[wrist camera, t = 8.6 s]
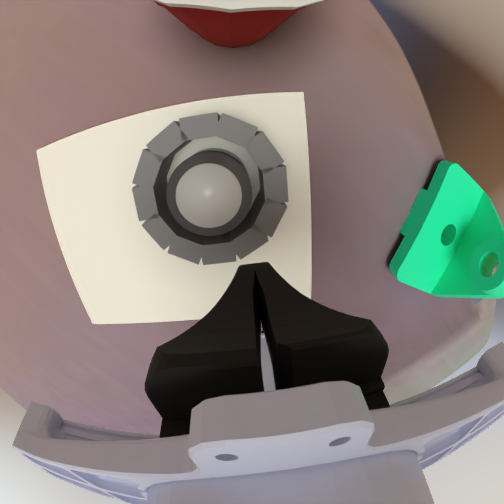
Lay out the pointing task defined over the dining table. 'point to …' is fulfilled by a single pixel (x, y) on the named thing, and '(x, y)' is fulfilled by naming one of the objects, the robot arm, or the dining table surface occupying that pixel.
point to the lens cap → (210, 192)
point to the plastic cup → (233, 18)
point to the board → (127, 245)
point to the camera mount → (452, 239)
